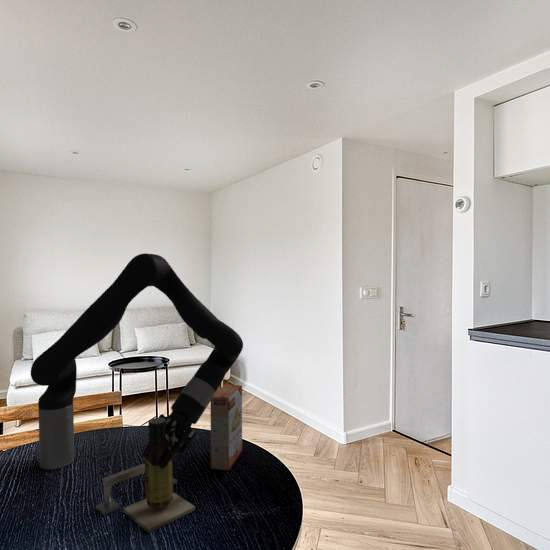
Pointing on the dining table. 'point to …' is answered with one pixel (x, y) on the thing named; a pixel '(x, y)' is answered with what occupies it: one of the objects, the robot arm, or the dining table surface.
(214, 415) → the cracker box
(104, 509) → the grey bar handle
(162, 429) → the sauce bottle
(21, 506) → the dining table surface
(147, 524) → the birch pad
